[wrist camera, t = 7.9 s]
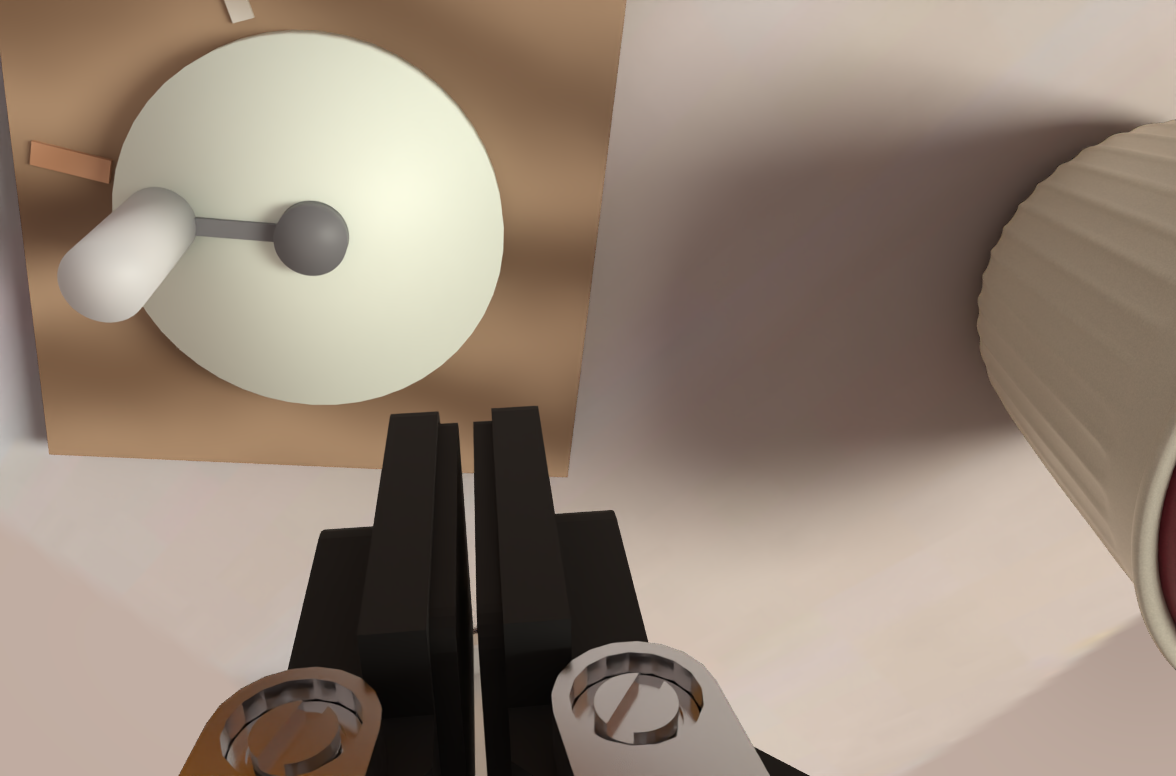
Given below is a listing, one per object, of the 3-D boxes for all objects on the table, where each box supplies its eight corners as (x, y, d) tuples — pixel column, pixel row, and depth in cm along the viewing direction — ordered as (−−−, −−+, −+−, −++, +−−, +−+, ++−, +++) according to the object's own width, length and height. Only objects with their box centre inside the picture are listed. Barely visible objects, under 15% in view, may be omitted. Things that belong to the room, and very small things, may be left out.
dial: (517, 52, 34) (531, 89, 28) (487, 397, 40) (493, 498, 33) (111, 7, 32) (19, 35, 26) (138, 376, 38) (68, 479, 31)
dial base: (563, 459, 43) (567, 479, 42) (62, 435, 40) (47, 457, 39) (625, -50, 35) (633, -48, 33) (-2, -128, 32) (-25, -129, 30)
